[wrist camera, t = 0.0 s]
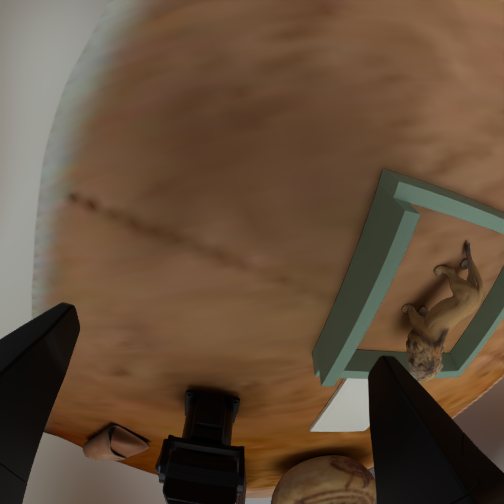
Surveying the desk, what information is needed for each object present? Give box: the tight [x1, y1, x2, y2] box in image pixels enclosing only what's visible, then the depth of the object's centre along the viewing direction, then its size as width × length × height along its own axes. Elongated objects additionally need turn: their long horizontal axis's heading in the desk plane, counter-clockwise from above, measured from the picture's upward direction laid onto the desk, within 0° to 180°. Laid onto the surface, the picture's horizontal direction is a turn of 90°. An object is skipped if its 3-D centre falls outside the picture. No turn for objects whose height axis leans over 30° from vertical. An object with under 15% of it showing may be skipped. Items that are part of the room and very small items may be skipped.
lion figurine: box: [402, 243, 483, 383], centre depth 23 cm, size 12×4×7 cm, turn 160°
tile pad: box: [310, 378, 370, 432], centre depth 35 cm, size 15×9×1 cm, turn 170°
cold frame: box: [312, 169, 504, 386], centre depth 24 cm, size 19×19×5 cm
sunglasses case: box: [83, 425, 150, 460], centre depth 45 cm, size 18×7×7 cm
